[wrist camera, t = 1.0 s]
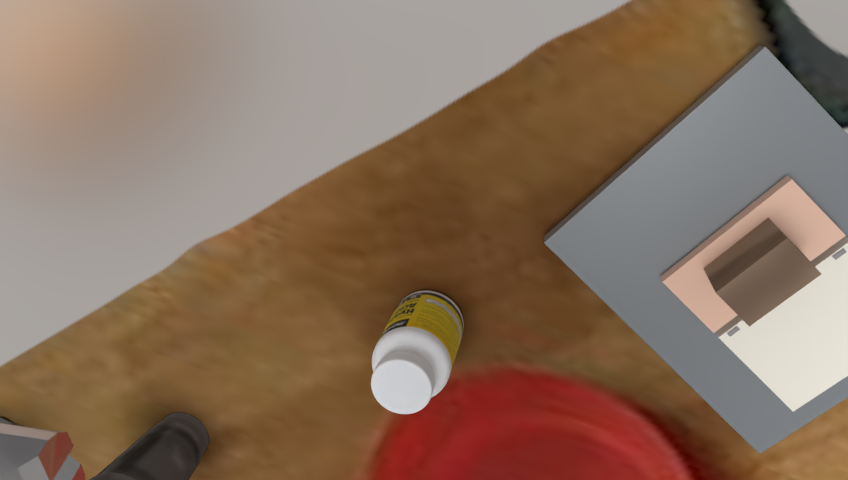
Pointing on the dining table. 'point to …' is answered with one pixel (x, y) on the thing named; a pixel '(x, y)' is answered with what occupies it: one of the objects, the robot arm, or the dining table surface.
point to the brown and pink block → (755, 258)
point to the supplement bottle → (416, 351)
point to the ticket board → (703, 216)
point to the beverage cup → (162, 452)
